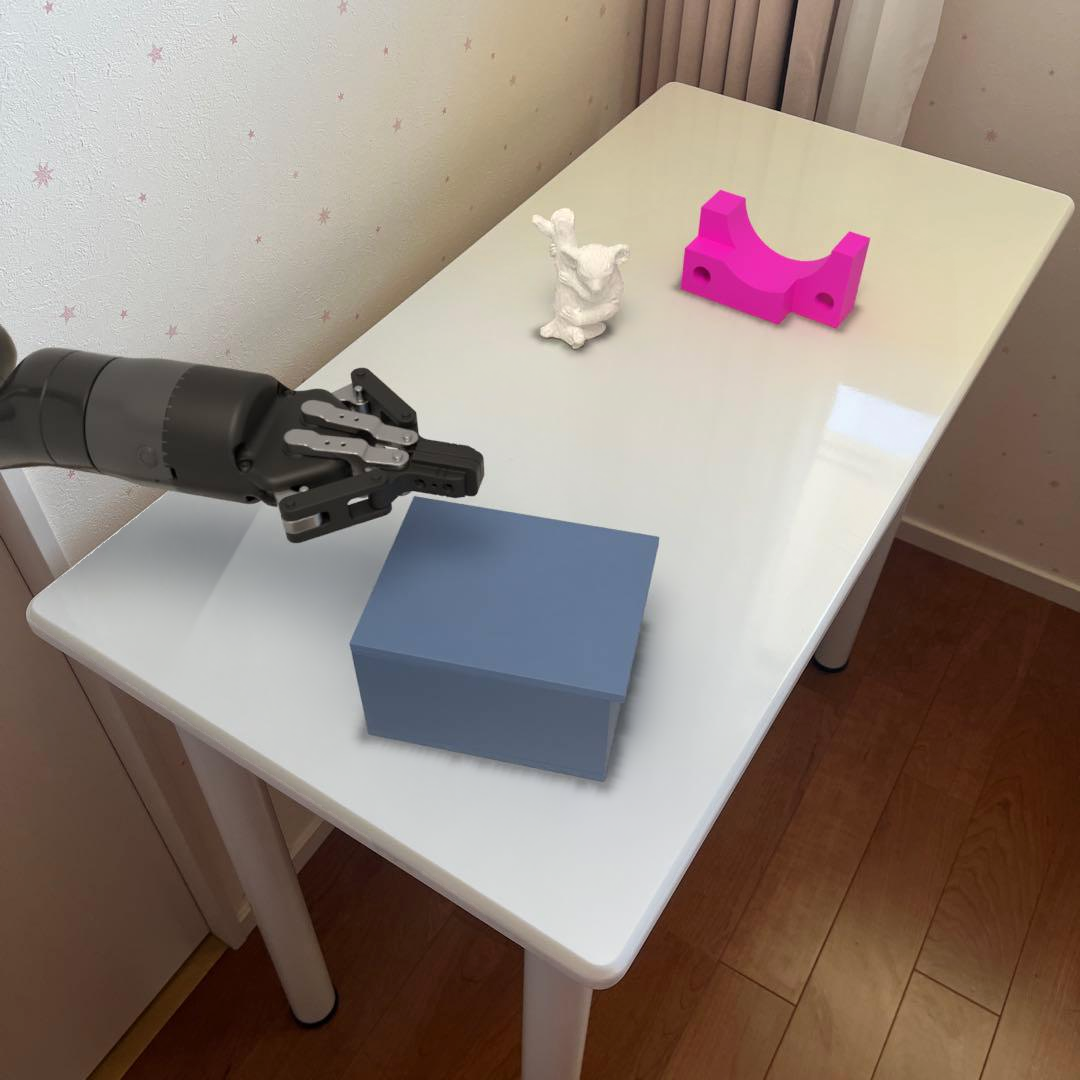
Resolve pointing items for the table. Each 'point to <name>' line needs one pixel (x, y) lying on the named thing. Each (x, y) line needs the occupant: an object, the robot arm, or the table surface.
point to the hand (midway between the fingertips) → (480, 475)
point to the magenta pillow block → (768, 269)
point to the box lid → (511, 598)
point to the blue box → (487, 716)
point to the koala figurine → (581, 281)
